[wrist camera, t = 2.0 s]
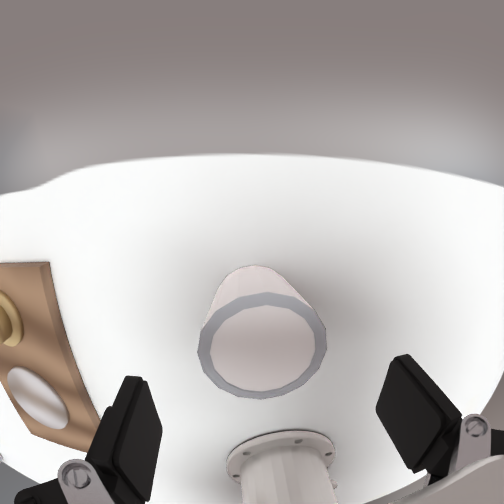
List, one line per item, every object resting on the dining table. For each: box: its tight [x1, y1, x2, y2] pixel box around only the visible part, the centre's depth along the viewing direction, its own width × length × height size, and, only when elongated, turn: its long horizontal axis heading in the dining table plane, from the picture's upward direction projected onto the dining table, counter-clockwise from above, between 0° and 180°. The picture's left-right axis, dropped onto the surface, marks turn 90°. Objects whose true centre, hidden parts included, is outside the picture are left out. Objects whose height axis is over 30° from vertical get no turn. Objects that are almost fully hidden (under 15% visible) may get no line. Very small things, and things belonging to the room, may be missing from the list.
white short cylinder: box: [197, 265, 327, 399], centre depth 17 cm, size 7×7×7 cm
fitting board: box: [0, 262, 100, 453], centre depth 18 cm, size 24×14×5 cm, turn 1°
